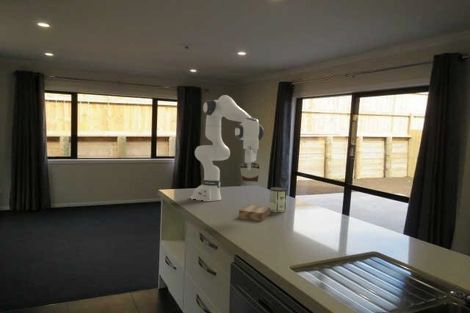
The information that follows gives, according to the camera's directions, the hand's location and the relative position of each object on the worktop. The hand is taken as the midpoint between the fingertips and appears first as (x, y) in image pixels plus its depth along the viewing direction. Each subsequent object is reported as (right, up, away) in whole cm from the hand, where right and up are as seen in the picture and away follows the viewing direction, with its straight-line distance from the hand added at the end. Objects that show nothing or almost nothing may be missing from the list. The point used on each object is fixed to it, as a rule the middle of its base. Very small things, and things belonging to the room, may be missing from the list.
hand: (250, 169), depth 200 cm
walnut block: (+3, -28, +3) cm, 28 cm away
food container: (0, -6, +3) cm, 7 cm away
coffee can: (+18, -27, +20) cm, 38 cm away
